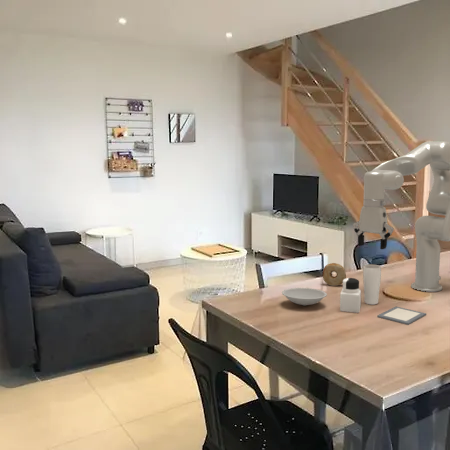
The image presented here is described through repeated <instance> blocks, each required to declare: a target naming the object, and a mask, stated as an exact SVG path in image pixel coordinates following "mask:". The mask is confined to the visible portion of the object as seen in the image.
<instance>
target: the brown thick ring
mask: <svg viewBox="0 0 450 450" xmlns="http://www.w3.org/2000/svg"><path fill="white" fill-rule="evenodd" d="M332 273H335V274H336V275H335V276H334V275H333V274H332ZM346 278H347V273H346V269H345V268H344V266H343V265H341V264H339V263H336V262H331V263H327V264H326V265H325V266H324V268H323V271H322V280H323V281H324V283H325V284H326V285H328V286H331V287H332V286H333V287H335V286H341V285H343V280H344V279H346Z"/></svg>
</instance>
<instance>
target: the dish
mask: <svg viewBox="0 0 450 450" xmlns="http://www.w3.org/2000/svg"><path fill="white" fill-rule="evenodd" d="M281 293H282V294H281V295H283V296H284V297H285V298H286V299H287V300H289V301H290V302H292V303H294V304H295V305H301V306H303V307H306V306H309V305H315V304H317V303H319V302H320V301H322V300H323V299H324V298H326V297H327V296H328V294H327V292H325V291H324V290H322V289H317V288H309V287H308V288H307V287H293V288H286V289H284V290H283V291H282V292H281Z"/></svg>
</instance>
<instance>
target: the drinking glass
mask: <svg viewBox="0 0 450 450" xmlns="http://www.w3.org/2000/svg"><path fill="white" fill-rule="evenodd" d="M362 268H363V270H362V271H363V272H362V276H363V277H362V279H363V295H364V300H363V301H364V303H365V304H367V305H378V303H379V295H380V287H381V279H382V278H381V277H382V267H381V265H379V264H378V265H377V264H364V265H363V267H362Z"/></svg>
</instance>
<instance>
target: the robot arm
mask: <svg viewBox="0 0 450 450" xmlns="http://www.w3.org/2000/svg"><path fill="white" fill-rule="evenodd" d="M428 165H429V166H430V168H431V172H432V174H433V183H432V186H431V189H430V191H429V192H430V193H429V195H428V197H427V200H426V207H425V209H426V211H427V212H429V213H430V214H433V215H438V216H433V215H422V216H420V217H418V218H416V221H415V223H414V231H415V238H416V240H415V241H416V254H415V256H416V257H415V273H414V274H415V275H414V276H415V279H414V282H412V283H411V285H410V287H411V288H412V289H413V288H414V289H413V290H415V289H417V290H416V291H419V290H421V291H420V292H425V291H426V292H428V293H431V292H432V293H436V292H441V291H442V290H443V286H442V284H440V283H439V281H441V279H442V278H441V276H440V266H441V265H440V264H441V263H440V262H441V261H440V260H441V245H440V243H439V241H442V242H450V142H449V141H444V140H443V141H441V140H440V141H434V140H433V141H431V140H430V141H425V142H422V143H421V144H419V145H417V146H416V147H415V148H413V149H412V150H410V151H409V152H408V153H406V154H404V155H401V156H399V157H396V158H393V159H389V160H387V161H384V162H382V163H380V164H379V165H378V166H376V167H375V168H373V169H372V170H371V171H367V172H365V173H364V175H363V176H364V177H363V206H361V210H360V214H359V221H356V222H354V223H352V227H353V229H354V233H356V236H357V244H358V245H357V246H358V247H361V246H364V245H365V235H364V234H365V233H371V234H375V235H379V236H380V245H379V248H380V250H385V249H386V248H387V246H388V239H389V237H391V236H392V233H393V232H394V231H395V229H394V227H392V225H389V224H388V215H387V214H388V212H387V208H386V207H384V206H386V205H387V201H385V190H390V191H396V190H399V189H400V188H401V187H403V185H404V182H405V179H404V176H410V175H414V174H417V173H419V172H420V171H421V170H422V169H424V168H426V167H427V166H428ZM439 216H440V217H439ZM441 216H444V217H441Z"/></svg>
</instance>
